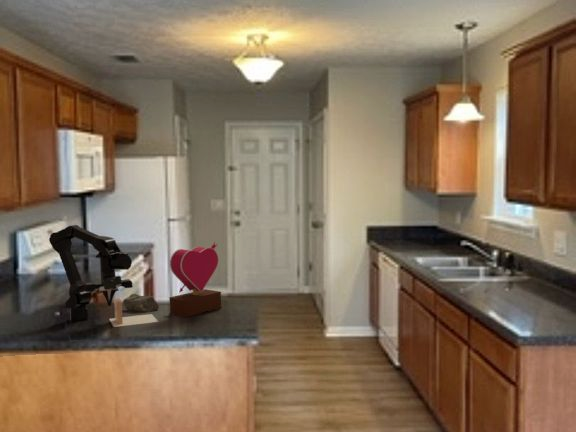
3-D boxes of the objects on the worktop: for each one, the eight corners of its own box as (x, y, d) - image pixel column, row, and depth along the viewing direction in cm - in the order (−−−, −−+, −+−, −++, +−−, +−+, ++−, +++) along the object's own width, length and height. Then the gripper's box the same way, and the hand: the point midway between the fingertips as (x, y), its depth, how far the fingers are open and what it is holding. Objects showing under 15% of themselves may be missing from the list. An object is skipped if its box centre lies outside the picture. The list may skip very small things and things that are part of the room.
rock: (116, 302, 270) (127, 292, 279) (120, 316, 272) (130, 305, 281) (151, 303, 266) (161, 292, 275) (154, 316, 268) (163, 306, 277)
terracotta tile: (117, 324, 247) (116, 302, 247) (115, 320, 255) (114, 298, 254) (122, 323, 248) (121, 302, 248) (119, 319, 256) (119, 298, 255)
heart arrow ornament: (210, 304, 284) (208, 240, 282) (226, 306, 278) (224, 242, 275) (169, 314, 265) (167, 246, 263) (185, 317, 259) (182, 248, 256)
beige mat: (113, 328, 243) (113, 326, 243) (109, 319, 257) (109, 318, 257) (158, 322, 251) (158, 321, 250) (151, 315, 264) (151, 314, 264)
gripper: (85, 273, 237) (87, 312, 238) (133, 269, 245) (135, 307, 246) (83, 269, 248) (85, 307, 249) (129, 265, 255) (131, 302, 256)
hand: (109, 306), depth 249 cm, fingers closed
